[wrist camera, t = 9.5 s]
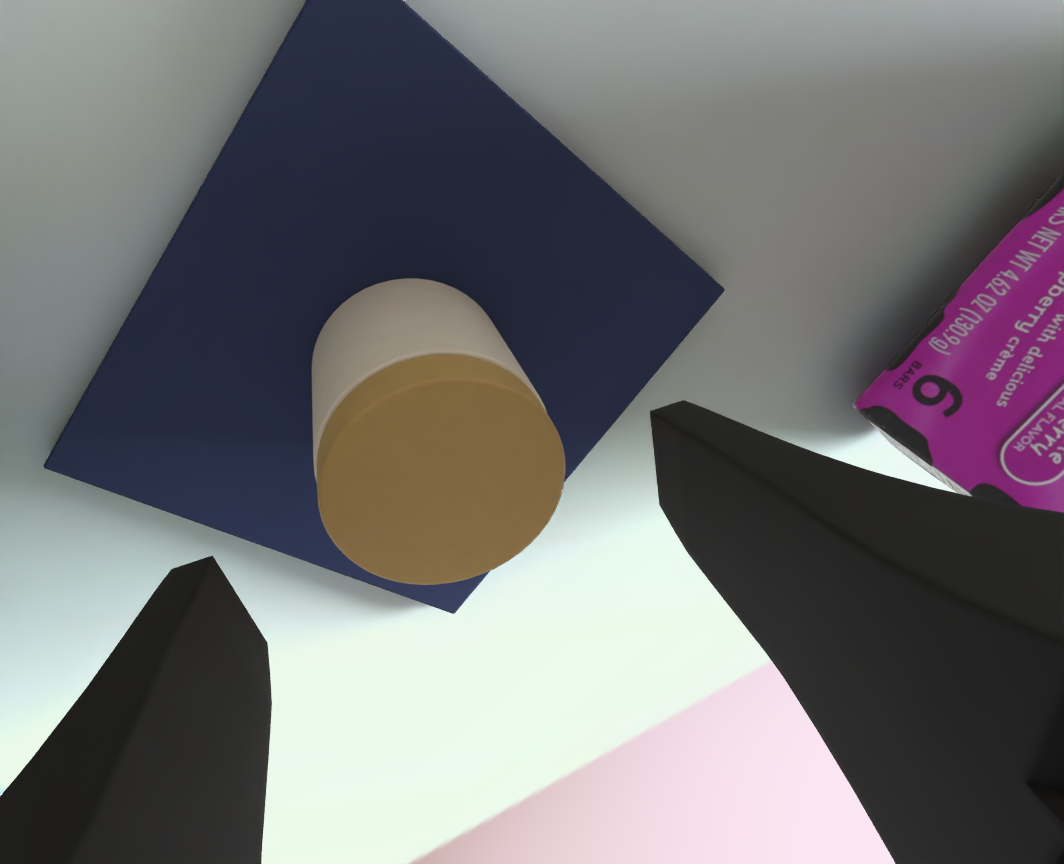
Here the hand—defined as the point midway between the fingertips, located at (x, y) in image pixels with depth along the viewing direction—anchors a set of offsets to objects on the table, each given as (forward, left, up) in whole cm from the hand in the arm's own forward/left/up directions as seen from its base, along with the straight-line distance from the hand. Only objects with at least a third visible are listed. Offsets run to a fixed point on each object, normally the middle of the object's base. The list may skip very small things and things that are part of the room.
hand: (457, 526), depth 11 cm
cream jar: (0, 0, -6) cm, 6 cm away
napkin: (0, 0, -6) cm, 6 cm away
